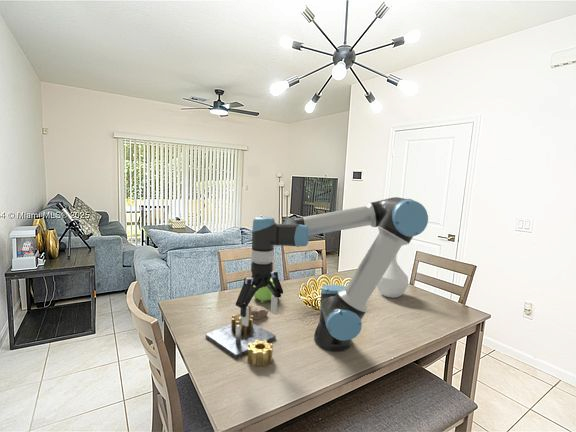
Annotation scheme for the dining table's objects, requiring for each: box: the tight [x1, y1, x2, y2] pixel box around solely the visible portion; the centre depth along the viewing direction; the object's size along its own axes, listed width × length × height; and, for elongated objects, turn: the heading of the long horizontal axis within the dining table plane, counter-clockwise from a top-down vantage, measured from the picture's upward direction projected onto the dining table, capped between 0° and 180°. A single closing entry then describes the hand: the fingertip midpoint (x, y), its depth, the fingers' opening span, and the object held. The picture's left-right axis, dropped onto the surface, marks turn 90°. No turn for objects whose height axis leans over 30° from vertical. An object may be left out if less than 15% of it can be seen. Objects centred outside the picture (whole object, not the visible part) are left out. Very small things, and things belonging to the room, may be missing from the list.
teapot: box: [253, 278, 275, 304], centre depth 163 cm, size 20×13×13 cm
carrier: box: [205, 312, 277, 360], centre depth 123 cm, size 20×20×8 cm
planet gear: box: [246, 340, 274, 368], centre depth 109 cm, size 9×9×5 cm
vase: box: [376, 255, 409, 299], centre depth 176 cm, size 18×18×30 cm
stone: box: [247, 304, 269, 321], centre depth 144 cm, size 9×12×5 cm
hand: (260, 318), depth 109 cm, fingers open, 13 cm apart
